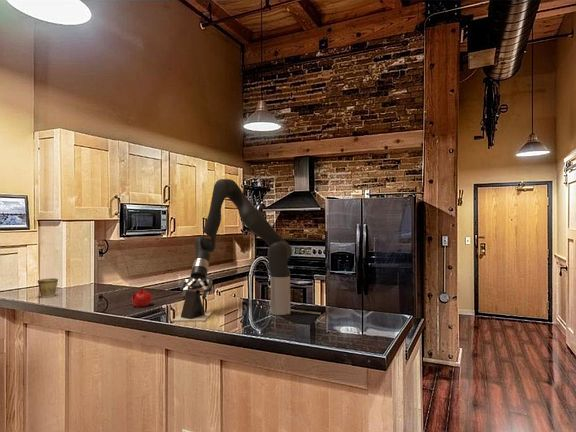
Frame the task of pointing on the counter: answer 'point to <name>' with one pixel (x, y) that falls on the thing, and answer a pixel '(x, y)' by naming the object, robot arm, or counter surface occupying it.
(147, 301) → the pomegranate
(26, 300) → the counter surface
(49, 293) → the ceramic cup
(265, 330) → the counter surface
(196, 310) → the phone stand
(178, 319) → the board
